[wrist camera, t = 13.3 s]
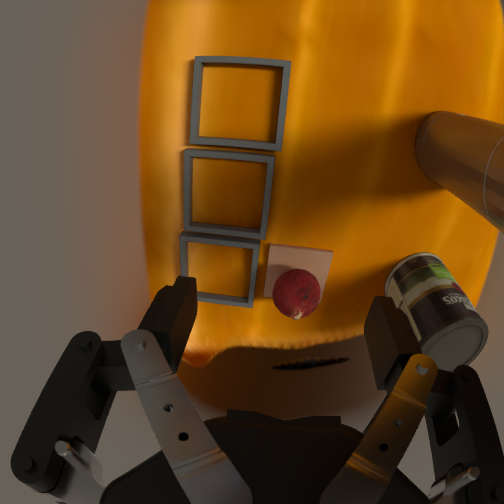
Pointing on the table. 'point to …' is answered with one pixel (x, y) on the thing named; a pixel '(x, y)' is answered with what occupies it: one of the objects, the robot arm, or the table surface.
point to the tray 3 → (225, 242)
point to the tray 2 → (222, 228)
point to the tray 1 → (231, 141)
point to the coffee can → (437, 310)
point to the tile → (296, 264)
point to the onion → (296, 293)
